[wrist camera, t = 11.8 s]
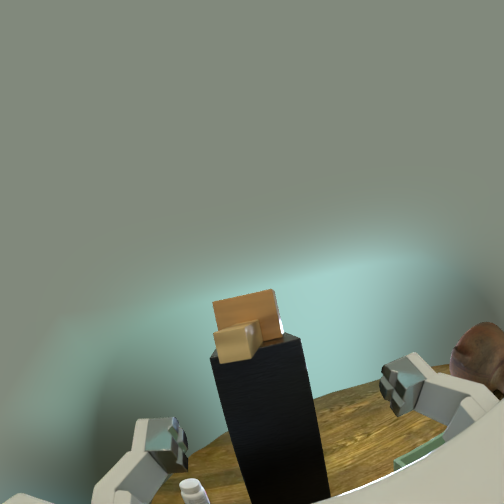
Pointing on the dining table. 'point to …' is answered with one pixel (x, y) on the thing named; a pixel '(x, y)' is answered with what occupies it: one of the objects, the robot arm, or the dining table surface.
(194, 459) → the dining table surface
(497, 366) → the jug
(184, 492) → the pill bottle
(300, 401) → the stand
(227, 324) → the mallet
